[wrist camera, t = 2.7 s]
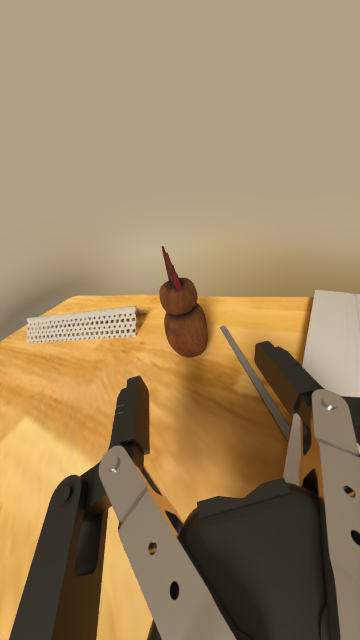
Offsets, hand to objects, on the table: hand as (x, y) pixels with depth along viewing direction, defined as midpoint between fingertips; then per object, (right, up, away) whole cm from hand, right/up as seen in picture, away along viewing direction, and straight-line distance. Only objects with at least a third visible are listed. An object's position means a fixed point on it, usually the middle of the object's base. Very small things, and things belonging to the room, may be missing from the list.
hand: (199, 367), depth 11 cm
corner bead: (-23, +1, +27) cm, 36 cm away
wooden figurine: (+1, -1, +15) cm, 15 cm away
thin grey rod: (+7, -3, +9) cm, 12 cm away
